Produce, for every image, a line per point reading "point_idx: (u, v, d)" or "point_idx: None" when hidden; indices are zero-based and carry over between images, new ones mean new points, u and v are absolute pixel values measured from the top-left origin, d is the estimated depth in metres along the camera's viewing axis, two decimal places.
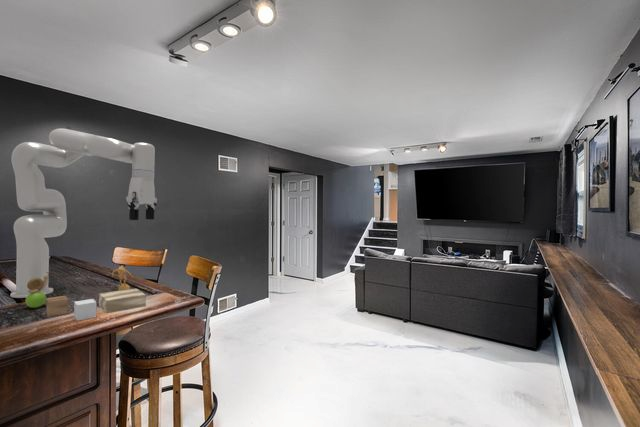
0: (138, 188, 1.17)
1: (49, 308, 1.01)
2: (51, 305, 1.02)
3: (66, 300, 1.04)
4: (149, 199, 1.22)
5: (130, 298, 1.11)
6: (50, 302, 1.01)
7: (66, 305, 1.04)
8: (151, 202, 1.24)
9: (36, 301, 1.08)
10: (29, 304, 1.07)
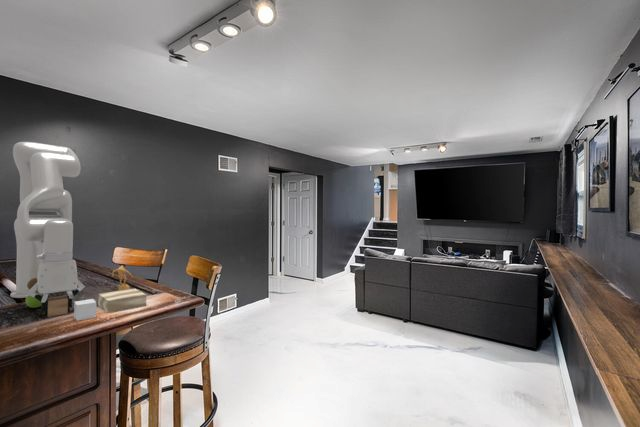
0: None
1: (49, 308, 1.01)
2: (51, 305, 1.02)
3: (66, 300, 1.04)
4: None
5: (131, 298, 1.11)
6: (50, 302, 1.01)
7: (66, 305, 1.04)
8: None
9: (36, 301, 1.08)
10: (29, 304, 1.07)
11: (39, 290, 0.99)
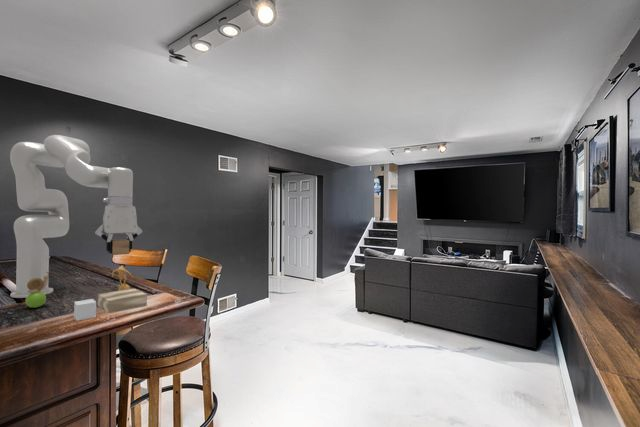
0: None
1: (114, 247, 1.10)
2: (115, 244, 1.11)
3: (128, 241, 1.13)
4: None
5: (131, 298, 1.12)
6: (115, 241, 1.11)
7: (128, 246, 1.13)
8: None
9: (36, 301, 1.08)
10: (29, 304, 1.07)
11: (106, 230, 1.09)
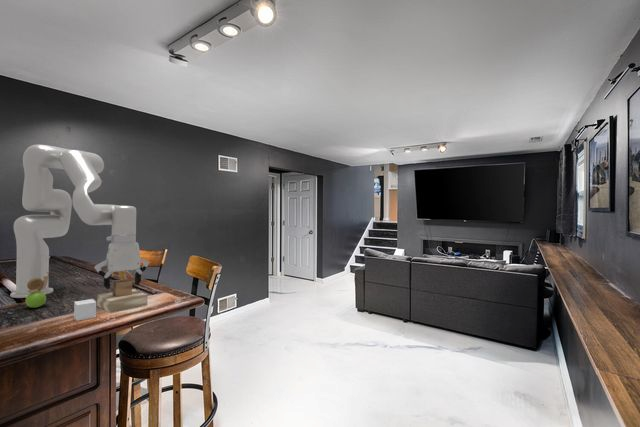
0: None
1: (117, 289, 1.12)
2: (119, 286, 1.12)
3: (131, 282, 1.15)
4: None
5: (132, 298, 1.12)
6: (118, 283, 1.12)
7: (131, 287, 1.15)
8: None
9: (36, 301, 1.08)
10: (29, 304, 1.07)
11: (109, 268, 1.09)
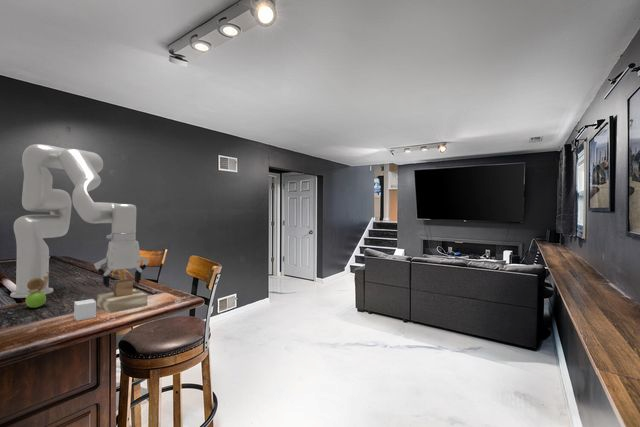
0: None
1: (118, 289, 1.12)
2: (119, 286, 1.12)
3: (131, 282, 1.15)
4: None
5: (132, 298, 1.12)
6: (118, 283, 1.12)
7: (131, 287, 1.15)
8: None
9: (36, 301, 1.08)
10: (29, 304, 1.07)
11: (109, 267, 1.09)
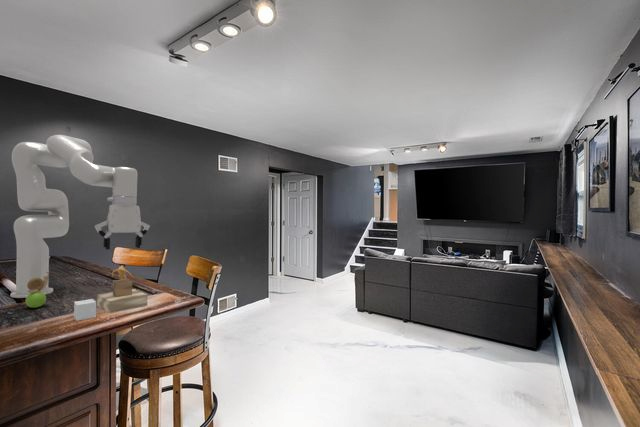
0: None
1: (117, 289, 1.11)
2: (119, 286, 1.12)
3: (131, 282, 1.14)
4: None
5: (132, 298, 1.12)
6: (118, 283, 1.11)
7: (131, 287, 1.14)
8: None
9: (36, 301, 1.08)
10: (29, 304, 1.07)
11: (110, 229, 1.09)
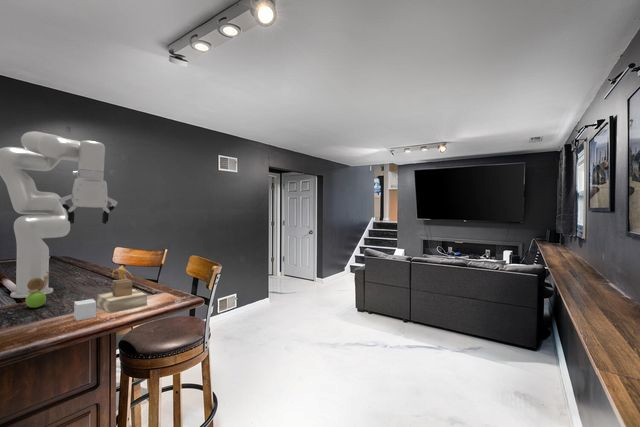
0: None
1: (117, 289, 1.11)
2: (119, 286, 1.12)
3: (131, 282, 1.14)
4: None
5: (132, 298, 1.12)
6: (118, 283, 1.11)
7: (131, 287, 1.14)
8: None
9: (36, 301, 1.08)
10: (29, 304, 1.07)
11: (74, 202, 1.08)
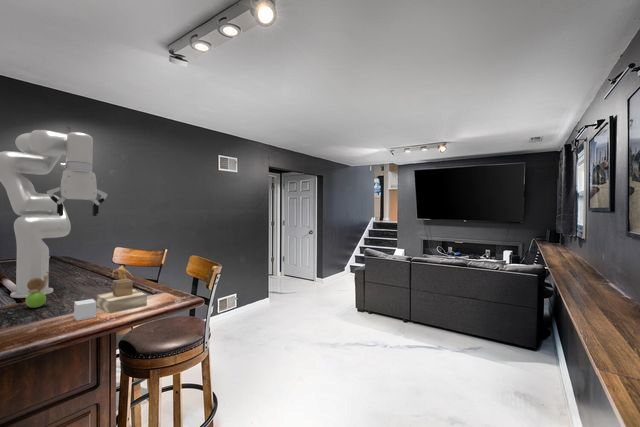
0: None
1: (118, 289, 1.11)
2: (119, 286, 1.12)
3: (131, 282, 1.15)
4: None
5: (132, 298, 1.12)
6: (118, 283, 1.12)
7: (131, 287, 1.15)
8: None
9: (36, 301, 1.08)
10: (29, 304, 1.07)
11: (63, 194, 1.08)
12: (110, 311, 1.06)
